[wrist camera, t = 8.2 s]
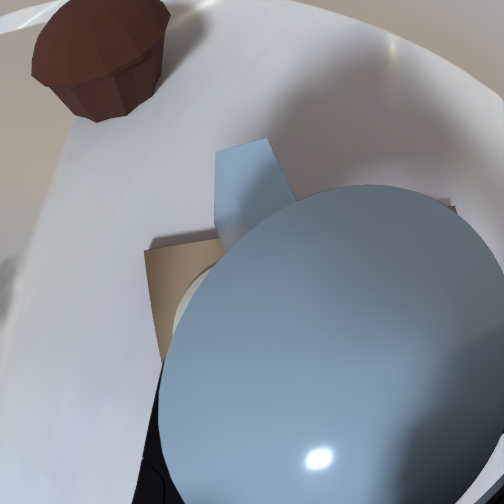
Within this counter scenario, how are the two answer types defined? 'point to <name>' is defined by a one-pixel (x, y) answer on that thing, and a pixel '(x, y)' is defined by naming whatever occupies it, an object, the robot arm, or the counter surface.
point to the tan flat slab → (179, 281)
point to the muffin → (102, 55)
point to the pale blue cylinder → (334, 348)
